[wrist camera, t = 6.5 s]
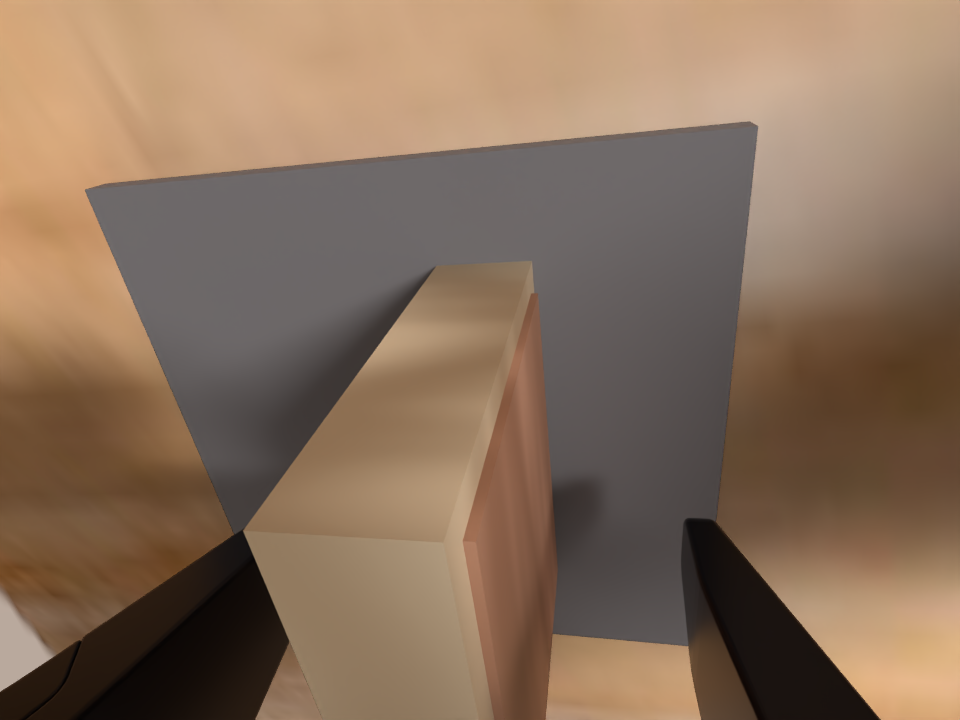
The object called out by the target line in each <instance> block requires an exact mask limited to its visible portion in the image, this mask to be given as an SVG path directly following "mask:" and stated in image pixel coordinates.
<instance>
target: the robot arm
mask: <svg viewBox="0 0 960 720" xmlns="http://www.w3.org/2000/svg"><path fill="white" fill-rule="evenodd" d="M244 529H245V528H243V529H242V530H240V531H239V532H237V533H236V534H234V535H233V536H232V537H230V538H229V539H227V540H226V541H224V542H223V543H221V544H220V545H218V546H217V547H215V548H214V549H212V550H211V551H209V552H208V553H206V554H205V555H204V556H202V557H201V558H199V559H198V560H196V561H195V562H193V563H192V564H190V565H189V566H187V567H186V568H184V569H183V570H181V571H180V572H178V573H177V574H176V575H174V576H173V577H171V578H170V579H168V580H167V581H165V582H164V583H162V584H161V585H159V586H158V587H156V588H155V589H153V590H152V591H150V592H149V593H147V594H146V595H145V596H143V597H142V598H140V599H139V600H137V601H136V602H134V603H133V604H131V605H130V606H128V607H127V608H125V609H124V610H122V611H121V612H119V613H118V614H116V615H115V616H114V617H112V618H111V619H109V620H108V621H106V622H105V623H103V624H102V625H100V626H99V627H97V628H96V629H94V630H93V631H91V632H90V633H88V634H87V635H85V636H84V637H83V639H82V641H80V640H79V641H76V642H75V643H74V644H72V645H71V646H69V647H68V648H66V649H65V650H63V651H62V652H60V653H59V654H57V655H56V656H54V657H53V658H51V659H50V660H48V661H47V662H45V663H44V664H42V665H41V666H39V667H38V668H36V669H35V670H33V671H32V672H30V673H29V674H27V675H26V676H24V677H23V678H21V679H20V680H18V681H17V682H15V683H13V684H12V685H10V686H9V687H7V688H5V689H4V690H2V691H1V692H0V720H255V719H256V716H257V714H258V712H259V710H260V707H261V705H262V703H263V700H264V698H265V696H266V694H267V691H268V689H269V687H270V685H271V682H272V680H273V678H274V675H275V673H276V671H277V669H278V666H279V664H280V662H281V660H282V657H283V655H284V653H285V650H286V648H287V646H288V643H289V639H288V636H287V634H286V632H285V629H284V627H283V624H282V622H281V620H280V617H279V615H278V613H277V610H276V608H275V605H274V603H273V601H272V598H271V596H270V594H269V591H268V589H267V586H266V584H265V582H264V579H263V577H262V575H261V572H260V570H259V567H258V565H257V563H256V560H255V558H254V556H253V553H252V551H251V548H250V546H249V544H248V541H247V539H246V537H245V534H244V532H243V530H244ZM681 574H682V584H683V595H684V605H685V615H686V626H687V636H688V646H689V656H690V664H691V672H692V677H693V682H694V688H695V692H696V697H697V702H698V706H699V711H700V716H701V720H881V719H880V718H879V717H878V716H877V715H876V713H875V712H874V711H873V710H872V709H871V707H870V706H869V705H868V704H867V703H866V701H865V700H864V699H863V698H862V697H861V695H860V694H859V693H858V692H857V691H856V690H855V688H854V687H853V686H852V685H851V684H850V682H849V681H848V680H847V679H846V678H845V676H844V675H843V674H842V673H841V672H840V670H839V669H838V668H837V667H836V666H835V664H834V663H833V662H832V661H831V660H830V658H829V657H828V656H827V655H826V654H825V652H824V651H823V650H822V649H821V648H820V646H819V645H818V644H817V643H816V642H815V640H814V639H813V638H812V637H811V636H810V634H809V633H808V632H807V631H806V630H805V628H804V627H803V626H802V625H801V624H800V622H799V621H798V620H797V619H796V618H795V616H794V615H793V614H792V613H791V612H790V610H789V609H788V608H787V607H786V606H785V604H784V603H783V602H782V601H781V600H780V598H779V597H778V596H777V595H776V594H775V592H774V591H773V590H772V589H771V588H770V586H769V585H768V584H767V583H766V582H765V580H764V579H763V578H762V577H761V576H760V574H759V573H758V572H757V571H756V570H755V568H754V567H753V566H752V565H751V564H750V563H749V561H748V560H747V559H746V558H745V557H744V555H743V554H742V553H741V552H740V551H739V549H738V548H737V547H736V546H735V545H734V543H733V542H732V541H731V540H730V539H729V537H728V536H727V535H726V534H725V533H724V531H723V530H722V529H721V528H720V527H719V525H718V524H717V523H716V522H715V521H714V520H712V519H705V518H687V519H685V521H684V523H683V535H682V549H681Z"/></svg>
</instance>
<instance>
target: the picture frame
mask: <svg viewBox="0 0 960 720" xmlns="http://www.w3.org/2000/svg"><path fill="white" fill-rule="evenodd" d="M243 532H244V534H245V537H246V539H247V541H248V544H249V546H250V548H251V551H252V553H253V556H254V558H255V560H256V563H257V565H258V567H259V570H260V572H261V575H262V577H263V579H264V582H265V584H266V586H267V589H268V591H269V594H270V596H271V598H272V601H273V603H274V605H275V608H276V610H277V613H278V615H279V617H280V620H281V622H282V624H283V627H284V629H285V632H286V634H287V636H288V639H289V641H290V643H291V646H292V648H293V651H294V653H295V655H296V658H297V660H298V662H299V665H300V667H301V669H302V672H303V674H304V677H305V679H306V681H307V684H308V686H309V688H310V691H311V693H312V696H313V698H314V700H315V703H316V705H317V707H318V710H319V712H320V715H321V717H322V719H323V720H546V707H547V695H548V683H549V671H550V659H551V646H552V634H553V622H554V610H555V598H556V585H557V573H558V564H557V550H556V537H555V523H554V509H553V495H552V481H551V467H550V453H549V439H548V425H547V411H546V397H545V383H544V369H543V355H542V341H541V327H540V313H539V299H538V293H534V282H533V268H532V261H521V262H501V263H481V264H461V265H441V266H436V267H435V269H434V270H433V272H432V273H431V274H430V276H429V277H428V278H427V280H426V281H425V282H424V284H423V285H422V287H421V288H420V289H419V291H418V292H417V293H416V295H415V296H414V298H413V299H412V300H411V302H410V303H409V304H408V306H407V307H406V308H405V310H404V311H403V313H402V314H401V315H400V317H399V318H398V319H397V321H396V322H395V324H394V325H393V326H392V328H391V329H390V330H389V332H388V333H387V334H386V336H385V337H384V339H383V340H382V341H381V343H380V344H379V345H378V347H377V348H376V350H375V351H374V352H373V354H372V355H371V356H370V358H369V359H368V360H367V362H366V363H365V365H364V366H363V367H362V369H361V370H360V371H359V373H358V374H357V376H356V377H355V378H354V380H353V381H352V382H351V384H350V385H349V386H348V388H347V389H346V391H345V392H344V393H343V395H342V396H341V397H340V399H339V400H338V402H337V403H336V404H335V406H334V407H333V408H332V410H331V411H330V413H329V414H328V415H327V417H326V418H325V419H324V421H323V422H322V423H321V425H320V426H319V428H318V429H317V430H316V432H315V433H314V434H313V436H312V437H311V439H310V440H309V441H308V443H307V444H306V445H305V447H304V448H303V449H302V451H301V452H300V454H299V455H298V456H297V458H296V459H295V460H294V462H293V463H292V465H291V466H290V467H289V469H288V470H287V471H286V473H285V474H284V475H283V477H282V478H281V480H280V481H279V482H278V484H277V485H276V486H275V488H274V489H273V491H272V492H271V493H270V495H269V496H268V497H267V499H266V500H265V501H264V503H263V504H262V506H261V507H260V508H259V510H258V511H257V512H256V514H255V515H254V517H253V518H252V519H251V521H250V522H249V523H248V525H247V526H246V527H245V529H244V530H243Z"/></svg>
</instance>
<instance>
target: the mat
mask: <svg viewBox="0 0 960 720" xmlns="http://www.w3.org/2000/svg"><path fill="white" fill-rule="evenodd" d="M757 131H758V126H757V125H755V124H753V123H751V122H740V123H730V124H720V125H709V126H699V127H688V128H678V129H668V130H657V131H647V132H637V133H626V134H616V135H606V136H595V137H585V138H574V139H564V140H554V141H543V142H533V143H523V144H512V145H502V146H492V147H481V148H471V149H460V150H450V151H440V152H429V153H419V154H409V155H398V156H388V157H378V158H367V159H357V160H346V161H336V162H326V163H315V164H305V165H295V166H284V167H274V168H264V169H253V170H243V171H232V172H222V173H212V174H201V175H191V176H181V177H170V178H160V179H150V180H139V181H129V182H118V183H108V184H103V185H100V186H96V187H93V188H89V189H86V190H85V192H86V194H87V196H88V199H89V201H90V203H91V206H92V208H93V210H94V212H95V215H96V217H97V219H98V222H99V224H100V226H101V229H102V231H103V233H104V236H105V238H106V240H107V242H108V245H109V247H110V249H111V252H112V254H113V256H114V259H115V261H116V263H117V265H118V268H119V270H120V272H121V275H122V277H123V279H124V282H125V284H126V286H127V288H128V291H129V293H130V295H131V298H132V300H133V302H134V305H135V307H136V309H137V312H138V314H139V316H140V318H141V321H142V323H143V325H144V328H145V330H146V332H147V335H148V337H149V339H150V341H151V344H152V346H153V348H154V351H155V353H156V355H157V358H158V360H159V362H160V364H161V367H162V369H163V371H164V374H165V376H166V378H167V381H168V383H169V385H170V388H171V390H172V392H173V394H174V397H175V399H176V401H177V404H178V406H179V408H180V411H181V413H182V415H183V417H184V420H185V422H186V424H187V427H188V429H189V431H190V434H191V436H192V438H193V441H194V443H195V445H196V447H197V450H198V452H199V454H200V457H201V459H202V461H203V464H204V466H205V468H206V470H207V473H208V475H209V477H210V480H211V482H212V484H213V487H214V489H215V491H216V493H217V496H218V498H219V500H220V503H221V505H222V507H223V510H224V512H225V514H226V517H227V519H228V521H229V523H230V526H231V528H232V530H233V533H234V534H236V533H237V532H239V531H240V530H242V529H243V528H245V527H246V526H247V525H248V523H249V522H250V521H251V519H252V518H253V517H254V515H255V514H256V512H257V511H258V510H259V508H260V507H261V506H262V504H263V503H264V501H265V500H266V499H267V497H268V496H269V495H270V493H271V492H272V491H273V489H274V488H275V486H276V485H277V484H278V482H279V481H280V480H281V478H282V477H283V475H284V474H285V473H286V471H287V470H288V469H289V467H290V466H291V465H292V463H293V462H294V460H295V459H296V458H297V456H298V455H299V454H300V452H301V451H302V449H303V448H304V447H305V445H306V444H307V443H308V441H309V440H310V439H311V437H312V436H313V434H314V433H315V432H316V430H317V429H318V428H319V426H320V425H321V423H322V422H323V421H324V419H325V418H326V417H327V415H328V414H329V413H330V411H331V410H332V408H333V407H334V406H335V404H336V403H337V402H338V400H339V399H340V397H341V396H342V395H343V393H344V392H345V391H346V389H347V388H348V386H349V385H350V384H351V382H352V381H353V380H354V378H355V377H356V376H357V374H358V373H359V371H360V370H361V369H362V367H363V366H364V365H365V363H366V362H367V360H368V359H369V358H370V356H371V355H372V354H373V352H374V351H375V350H376V348H377V347H378V345H379V344H380V343H381V341H382V340H383V339H384V337H385V336H386V334H387V333H388V332H389V330H390V329H391V328H392V326H393V325H394V324H395V322H396V321H397V319H398V318H399V317H400V315H401V314H402V313H403V311H404V310H405V308H406V307H407V306H408V304H409V303H410V302H411V300H412V299H413V298H414V296H415V295H416V293H417V292H418V291H419V289H420V288H421V287H422V285H423V284H424V282H425V281H426V280H427V278H428V277H429V276H430V274H431V273H432V272H433V270H434V269H435V267H436V266H441V265H461V264H481V263H501V262H521V261H532V268H533V282H534V293H538V299H539V313H540V327H541V341H542V355H543V369H544V383H545V397H546V411H547V425H548V439H549V453H550V467H551V481H552V495H553V509H554V523H555V537H556V550H557V564H558V573H557V585H556V598H555V610H554V622H553V634H560V635H572V636H583V637H594V638H605V639H616V640H627V641H638V642H649V643H660V644H671V645H682V646H688V636H687V626H686V615H685V605H684V595H683V584H682V574H681V549H682V535H683V523H684V521H685V519H687V518H705V519H712V520H714V521H715V522H716V517H717V508H718V498H719V489H720V480H721V470H722V461H723V451H724V442H725V432H726V423H727V414H728V404H729V395H730V385H731V376H732V367H733V357H734V348H735V338H736V329H737V319H738V310H739V301H740V291H741V282H742V272H743V263H744V254H745V244H746V235H747V225H748V216H749V206H750V197H751V188H752V178H753V169H754V159H755V150H756V141H757Z"/></svg>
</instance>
